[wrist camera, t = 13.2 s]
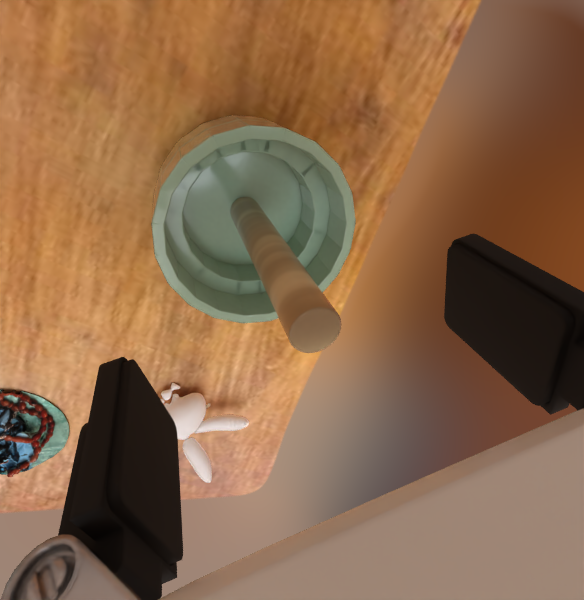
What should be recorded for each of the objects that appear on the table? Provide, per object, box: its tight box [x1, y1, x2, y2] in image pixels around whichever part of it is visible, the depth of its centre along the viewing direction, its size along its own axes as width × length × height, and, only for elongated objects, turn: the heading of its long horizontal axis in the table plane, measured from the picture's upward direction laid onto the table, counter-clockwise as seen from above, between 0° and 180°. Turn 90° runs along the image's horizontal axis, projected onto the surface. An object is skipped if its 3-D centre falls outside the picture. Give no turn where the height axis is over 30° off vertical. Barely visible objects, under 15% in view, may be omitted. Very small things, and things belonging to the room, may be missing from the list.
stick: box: [230, 197, 341, 353], centre depth 19 cm, size 2×2×14 cm
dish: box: [0, 390, 69, 477], centre depth 28 cm, size 8×7×8 cm
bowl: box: [151, 115, 355, 323], centre depth 23 cm, size 11×11×6 cm
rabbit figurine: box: [160, 383, 249, 483], centre depth 32 cm, size 6×4×8 cm
